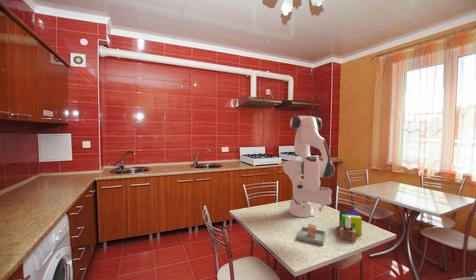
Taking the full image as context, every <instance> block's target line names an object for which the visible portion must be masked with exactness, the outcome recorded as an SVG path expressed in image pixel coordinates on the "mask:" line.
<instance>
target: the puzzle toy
mask: <svg viewBox="0 0 476 280" xmlns="http://www.w3.org/2000/svg"><path fill="white" fill-rule="evenodd" d="M346 215H349V216H351V226H352V227H356V236H362V231H363V230H362V227H363V226H362V224H363V220H362V218H363V217H361V215H360V214H359V212H357V211H349V210H348V211H347V210H339V222H338V223H339V228H340V227H341V225H345V216H346Z"/></svg>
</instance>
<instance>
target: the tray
mask: <svg viewBox="0 0 476 280" xmlns="http://www.w3.org/2000/svg"><path fill="white" fill-rule="evenodd" d="M326 232H327V231H325V230H321V229H317V228H316V237H315V239H314V238H309V237H308V226H307V227H306V226H301V228H300V230H299V232H298V234H297V236H296V240H297V241H302V242H305V243H309V244H315V245H319V246H324V243H325V238H326V236H327V235H326Z"/></svg>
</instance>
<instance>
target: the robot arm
mask: <svg viewBox="0 0 476 280" xmlns="http://www.w3.org/2000/svg"><path fill="white" fill-rule="evenodd" d="M289 125H290V128H291V129H292V130H294V131H296V132H295V137H294V147H293V148H294V149H293V151H294V154H295V155H296V156H299V157H300V158H301V159H302V160H297V159H296V160H295V159H294V160H293V159H292V160H286V161H285V162H284V163H283V164H282V170H283V172H284V173H285V175H287V176H288V178H289V179H290V181H291V185H292V196H291V198H292V199H291V200H290V201H289V202H290V203H289V209H288V210H287V213H289V214H291V215H292V216H294V217H298V218H308V217H309V218H310V217H314V216H315V213H314V212H315V211H314V208H313V207H312V204H320V207H319V208H318V211H319V212H323V208H324V207H325V206H330V205H331V204H332V195H333V191H332V189H331V188H329V187H325V186H321V179H320V178H327V179H329V178H331V177H333V176H334V175H335V169H336V168H335V166H334V163H333V161H332V157H331V155H330V151H329V147H328V144H327V142H326V139H325V138H324V137H322V136H321V135H320V134H319V131H320V130H321V129H322V126H323V121H322V119H321V118H320V117H318V116H312V115H310V116H309V115H293V116H292V117H291V119H290V122H289ZM311 147H314V148H316V149H318V150H319V151H320V153H321V157H322V160H320V158H319V157H317V156H312V154H311ZM302 177H303V179H302Z"/></svg>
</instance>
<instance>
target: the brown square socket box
mask: <svg viewBox="0 0 476 280" xmlns="http://www.w3.org/2000/svg"><path fill="white" fill-rule="evenodd" d="M339 233H340V234H339V235H340V237H339V239H342V240H346V241H350V242H357V241H356V240H357V235H356V227H352V226H351V230H346V229H345V225H341V227H340V226H339Z"/></svg>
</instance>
